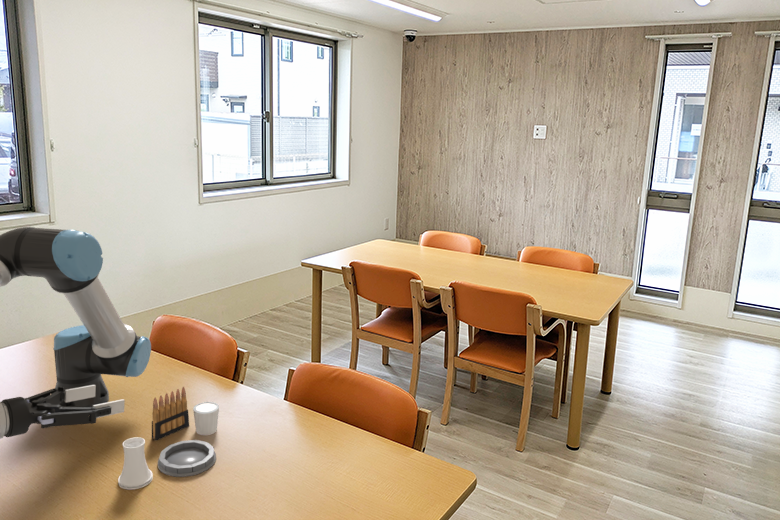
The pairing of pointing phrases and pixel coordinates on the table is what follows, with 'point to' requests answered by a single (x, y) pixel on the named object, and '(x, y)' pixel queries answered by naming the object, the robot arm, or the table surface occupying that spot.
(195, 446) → the socket ring
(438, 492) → the table surface
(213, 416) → the shot glass
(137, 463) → the vase
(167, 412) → the ammunition clip
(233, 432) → the table surface
